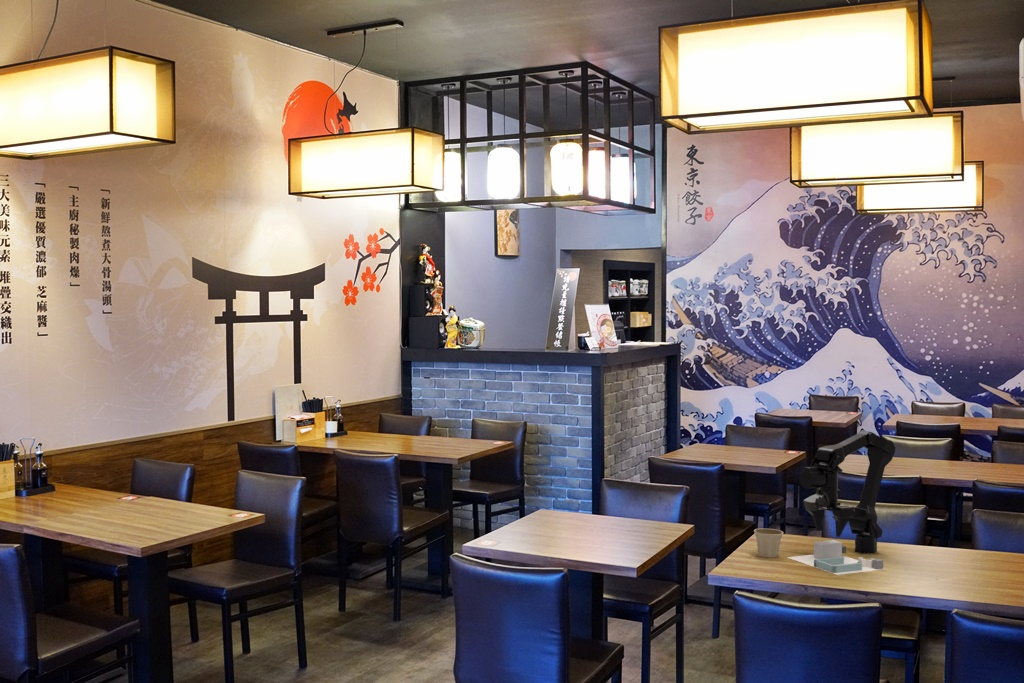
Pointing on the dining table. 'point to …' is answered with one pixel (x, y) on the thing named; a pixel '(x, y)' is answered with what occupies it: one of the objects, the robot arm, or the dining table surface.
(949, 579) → the dining table surface
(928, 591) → the dining table surface
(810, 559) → the board
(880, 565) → the grey blocky piece
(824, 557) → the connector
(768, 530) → the flower pot
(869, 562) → the clips
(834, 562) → the holder
